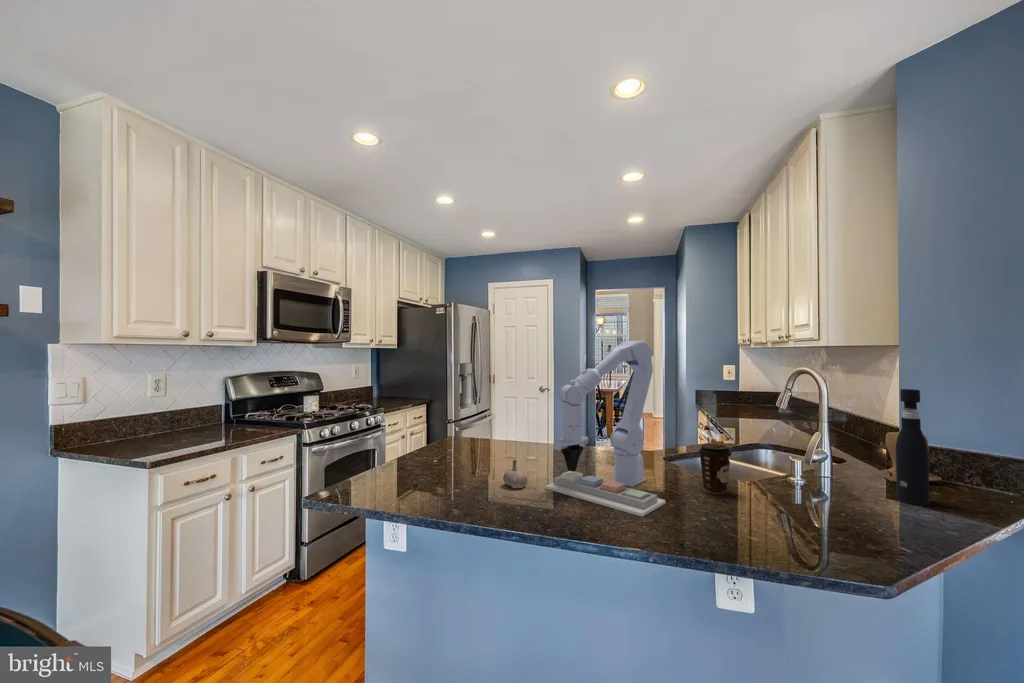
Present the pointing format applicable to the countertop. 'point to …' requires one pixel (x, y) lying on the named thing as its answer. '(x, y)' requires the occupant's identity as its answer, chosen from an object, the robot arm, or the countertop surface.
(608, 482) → the terracotta key
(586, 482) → the slate key
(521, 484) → the garlic bulb
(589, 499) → the keypad
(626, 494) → the sage key
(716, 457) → the coffee cup
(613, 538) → the countertop surface
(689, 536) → the countertop surface
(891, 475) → the wooden stand
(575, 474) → the cream key
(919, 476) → the black water bottle
